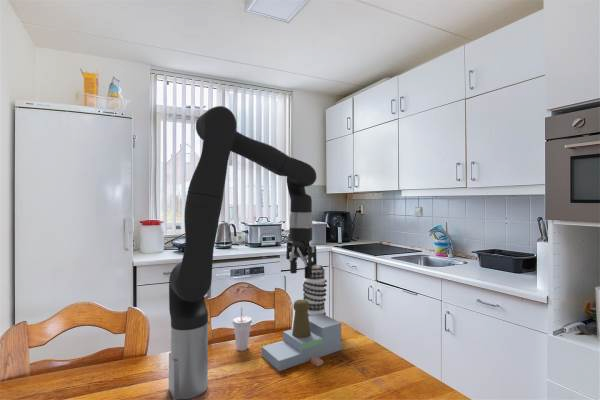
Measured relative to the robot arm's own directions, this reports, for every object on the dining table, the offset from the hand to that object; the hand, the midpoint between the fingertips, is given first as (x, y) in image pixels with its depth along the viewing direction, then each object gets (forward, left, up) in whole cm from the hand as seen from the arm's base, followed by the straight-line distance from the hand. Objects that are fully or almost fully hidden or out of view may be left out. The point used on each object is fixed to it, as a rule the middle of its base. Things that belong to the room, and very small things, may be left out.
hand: (300, 275), depth 103 cm
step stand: (+1, 0, -25) cm, 25 cm away
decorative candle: (+15, +12, -25) cm, 32 cm away
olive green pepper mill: (0, 0, -19) cm, 19 cm away
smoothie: (-14, +14, -25) cm, 32 cm away
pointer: (+1, -8, -25) cm, 27 cm away
